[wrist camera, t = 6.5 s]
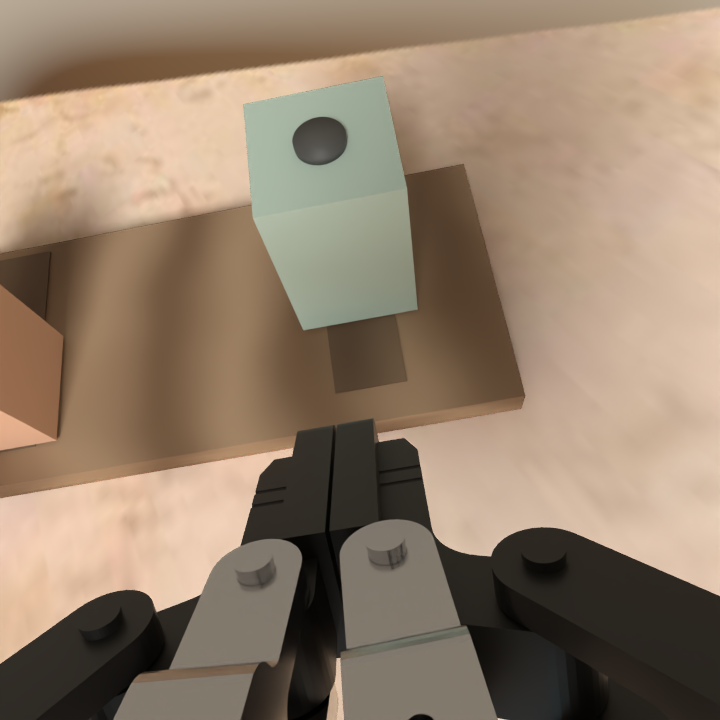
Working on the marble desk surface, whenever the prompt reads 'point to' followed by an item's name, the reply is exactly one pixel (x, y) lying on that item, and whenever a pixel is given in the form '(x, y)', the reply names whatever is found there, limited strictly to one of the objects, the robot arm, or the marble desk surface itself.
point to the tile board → (249, 343)
